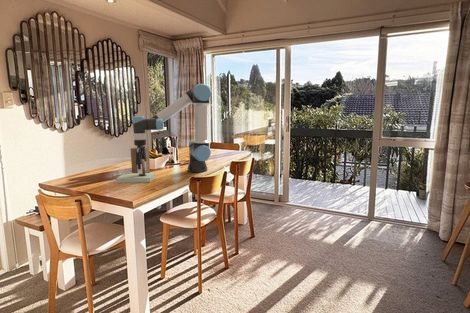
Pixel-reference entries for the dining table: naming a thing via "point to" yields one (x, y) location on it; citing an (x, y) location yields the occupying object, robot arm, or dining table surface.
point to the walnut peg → (142, 168)
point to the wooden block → (133, 160)
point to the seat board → (135, 178)
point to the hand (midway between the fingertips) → (142, 172)
